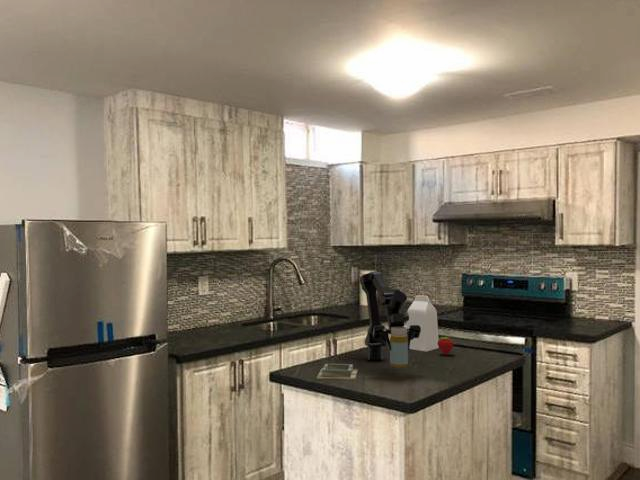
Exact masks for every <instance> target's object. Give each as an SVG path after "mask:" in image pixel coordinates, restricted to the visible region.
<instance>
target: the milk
mask: <svg viewBox="0 0 640 480" xmlns="http://www.w3.org/2000/svg"><path fill="white" fill-rule="evenodd" d="M431 302H432V301H430V299H429V295H422V294H421V295H418V294H417V295H416V296H415V297H414V301H412V303H411V305H410V306H409V308H408V309H407V311H406V313H408V314H409V320H408V321H406V328H407V329H409V328H410V325H419V326H420V328H421V332H420V335H419V337H418V338H414V339H413V340H411V341H410V346H409V350H413V351H414V350H415V351H420V352H426V353H427V352H429V351H433V350H437V349H439V347H438V344H437V343H438V341H439V340H440V339H439V326H438V313H437V309H436V308H435V306H434V305H433V304H432V303H431Z"/></svg>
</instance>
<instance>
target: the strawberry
mask: <svg viewBox="0 0 640 480" xmlns="http://www.w3.org/2000/svg"><path fill="white" fill-rule="evenodd" d="M438 340H439V341H438V343H437V344H438V347H439V348H438V349H439V350H440V351H441V352H442V354H443V355H444V356H447V355H448V354H449V353H450V352H451V351H452V349H453V348H454V342H453V340H452V339H451V337H447V336H444V337H441V336H440V337H439V339H438Z"/></svg>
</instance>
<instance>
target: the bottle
mask: <svg viewBox="0 0 640 480" xmlns="http://www.w3.org/2000/svg"><path fill="white" fill-rule="evenodd" d="M389 340H390V344H391V351H390V350H389V364H390V366H391V367H394V368H400V369H401V368H406V367H407V366H408V364H409V350H408V339H407V326H404V327H391V334H390V337H389Z"/></svg>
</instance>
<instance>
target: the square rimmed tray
mask: <svg viewBox="0 0 640 480" xmlns="http://www.w3.org/2000/svg"><path fill="white" fill-rule="evenodd" d="M358 369H359V368H357V369H356V368H355V369H354V364H353V363H352V364H351V363H350V364H349V363H325V364H324V365H323V367H322V368H321V369H320V371H319V373H318V375H317V376H316V380H334V381H335V380H339V381H340V380H341V381H356V378H357V374H358Z"/></svg>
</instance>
